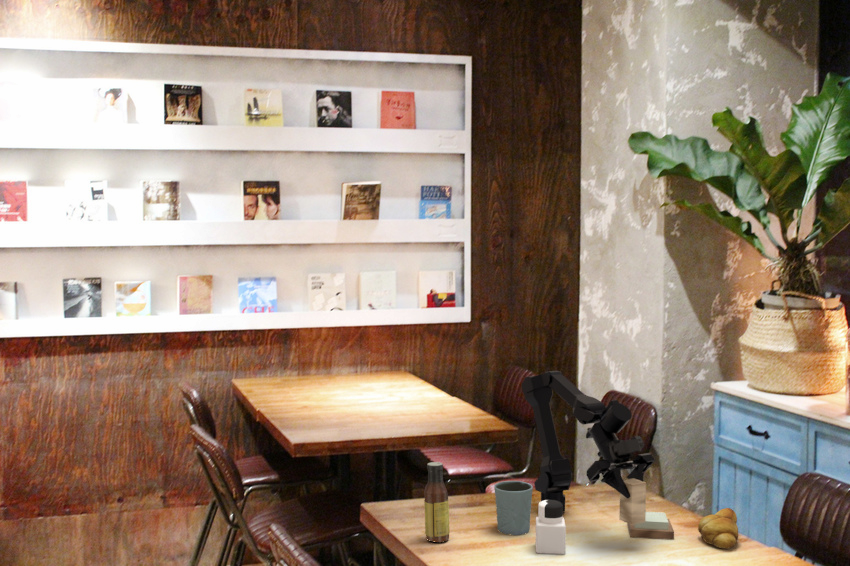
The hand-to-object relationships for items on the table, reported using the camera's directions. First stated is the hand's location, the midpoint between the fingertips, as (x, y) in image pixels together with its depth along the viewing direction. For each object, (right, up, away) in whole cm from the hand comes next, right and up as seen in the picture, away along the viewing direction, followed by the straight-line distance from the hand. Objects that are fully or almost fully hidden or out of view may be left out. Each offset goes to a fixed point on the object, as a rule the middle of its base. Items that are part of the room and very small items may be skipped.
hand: (636, 496), depth 218 cm
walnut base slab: (+7, -13, +14) cm, 20 cm away
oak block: (-1, -7, +1) cm, 7 cm away
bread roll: (+22, -14, +6) cm, 27 cm away
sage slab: (+7, -11, +14) cm, 19 cm away
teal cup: (-29, -13, +15) cm, 35 cm away
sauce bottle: (-50, -13, +7) cm, 52 cm away
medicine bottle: (-21, -14, +1) cm, 25 cm away
